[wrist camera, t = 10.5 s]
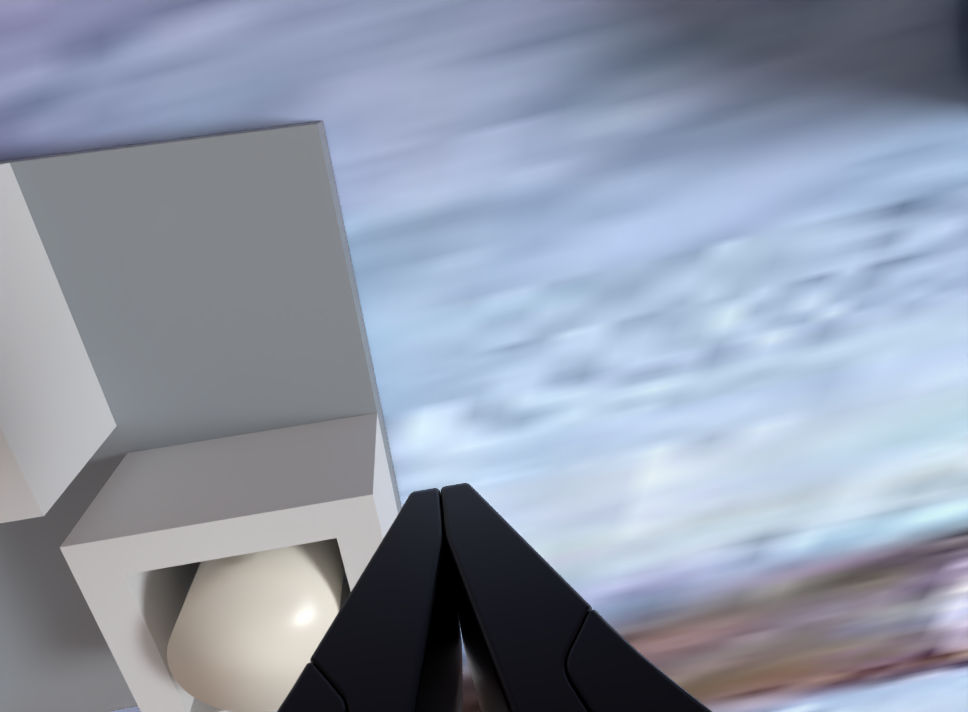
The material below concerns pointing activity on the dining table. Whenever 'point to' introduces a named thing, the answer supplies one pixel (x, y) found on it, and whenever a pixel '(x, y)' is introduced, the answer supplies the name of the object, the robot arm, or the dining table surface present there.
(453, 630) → the robot arm
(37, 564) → the panel
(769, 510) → the dining table surface
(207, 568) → the plug
